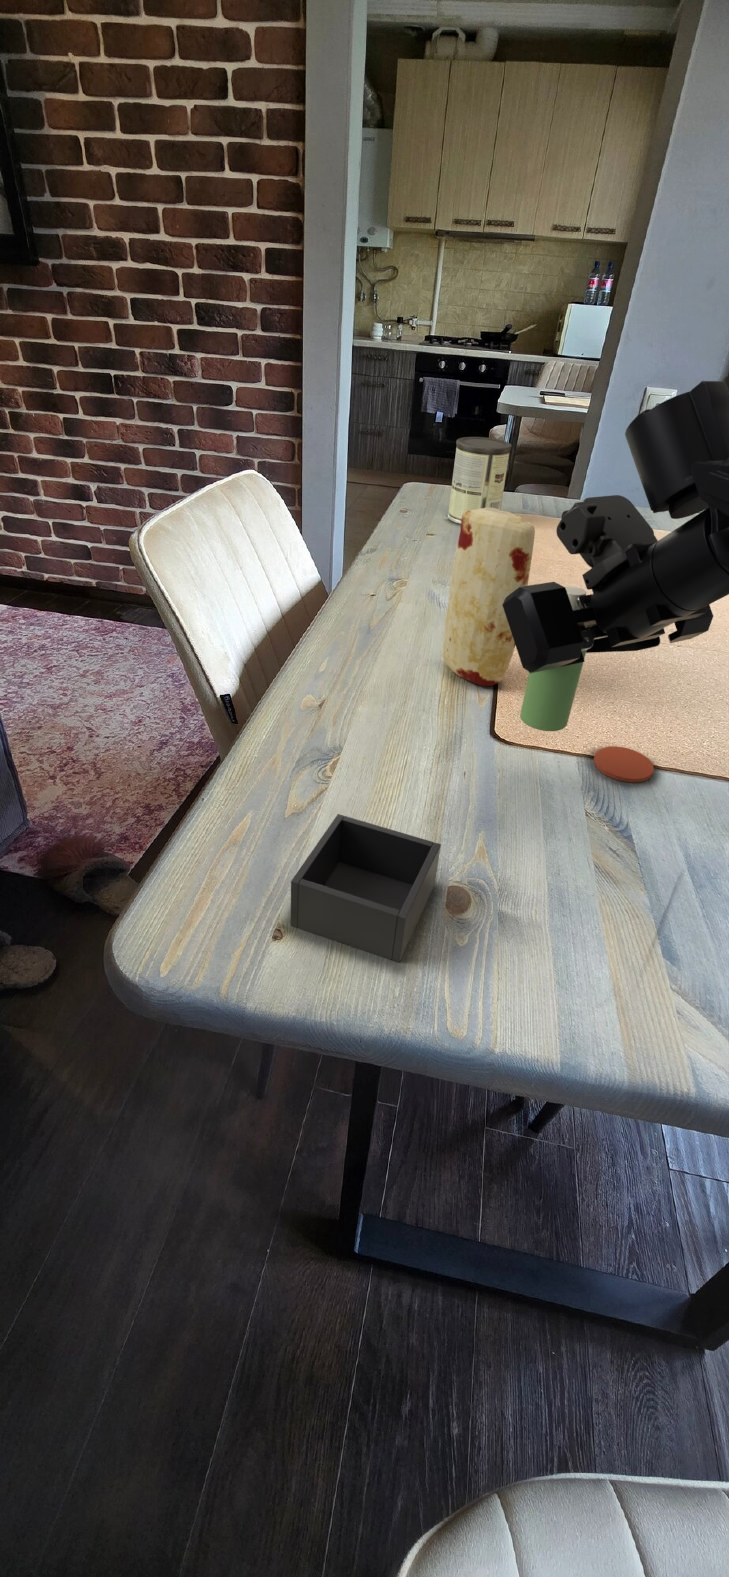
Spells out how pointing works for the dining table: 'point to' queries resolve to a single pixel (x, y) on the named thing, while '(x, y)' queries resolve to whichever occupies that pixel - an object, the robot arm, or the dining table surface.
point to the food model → (485, 593)
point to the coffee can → (478, 475)
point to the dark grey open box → (365, 886)
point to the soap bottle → (552, 689)
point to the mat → (623, 764)
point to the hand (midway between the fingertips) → (548, 651)
